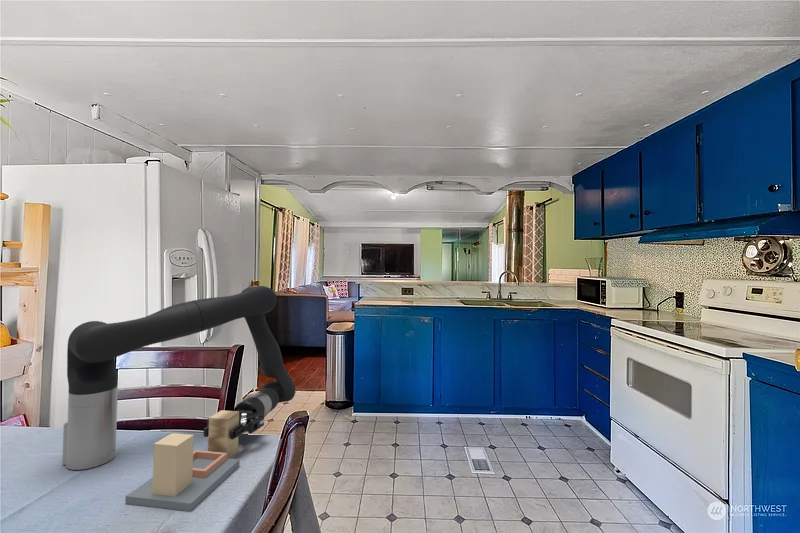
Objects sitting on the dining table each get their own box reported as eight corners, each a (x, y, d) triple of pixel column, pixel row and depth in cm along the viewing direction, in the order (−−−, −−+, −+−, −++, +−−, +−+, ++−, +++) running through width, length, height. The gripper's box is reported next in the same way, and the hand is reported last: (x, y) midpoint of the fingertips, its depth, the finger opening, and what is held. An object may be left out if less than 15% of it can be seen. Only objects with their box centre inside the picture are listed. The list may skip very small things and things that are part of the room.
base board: (125, 503, 74) (127, 445, 74) (185, 460, 91) (186, 413, 91) (190, 511, 72) (192, 451, 72) (239, 465, 89) (240, 417, 89)
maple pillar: (207, 458, 92) (209, 417, 92) (220, 448, 97) (221, 410, 97) (226, 460, 91) (227, 419, 92) (238, 450, 96) (239, 411, 97)
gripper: (230, 394, 109) (191, 416, 93) (277, 398, 108) (246, 421, 91) (229, 420, 109) (190, 447, 93) (276, 424, 108) (245, 452, 91)
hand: (218, 434), depth 92 cm, fingers open, 6 cm apart
